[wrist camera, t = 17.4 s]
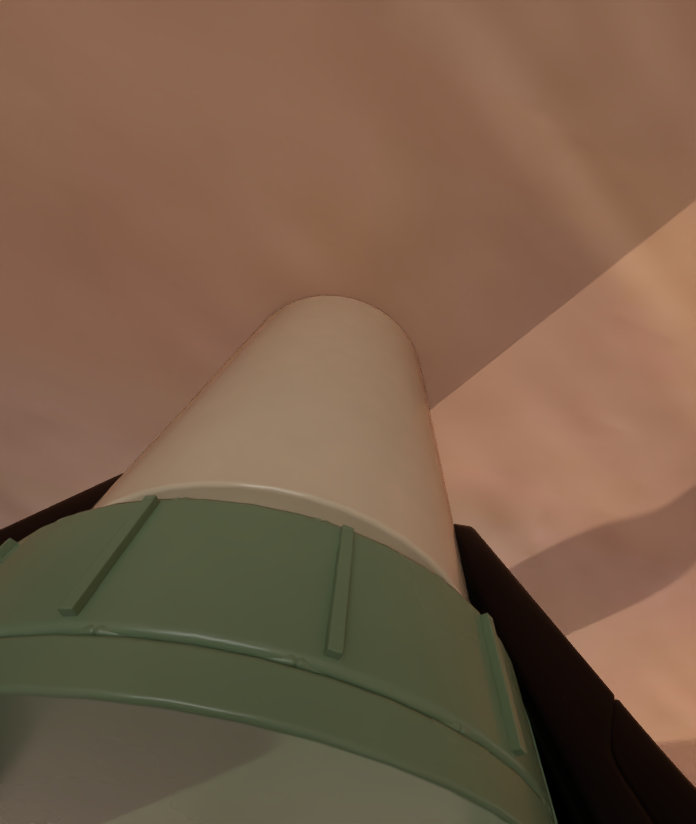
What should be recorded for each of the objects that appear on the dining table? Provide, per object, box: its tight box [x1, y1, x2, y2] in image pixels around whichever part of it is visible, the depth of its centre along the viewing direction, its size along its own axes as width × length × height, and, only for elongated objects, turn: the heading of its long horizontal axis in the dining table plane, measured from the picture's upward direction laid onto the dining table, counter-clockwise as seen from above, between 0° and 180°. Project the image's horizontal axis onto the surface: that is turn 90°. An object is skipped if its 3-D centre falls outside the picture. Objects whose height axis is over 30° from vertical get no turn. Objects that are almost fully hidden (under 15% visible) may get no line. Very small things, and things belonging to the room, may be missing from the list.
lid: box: [0, 495, 558, 824], centre depth 4 cm, size 7×7×2 cm
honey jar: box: [90, 296, 470, 603], centre depth 9 cm, size 6×6×10 cm
